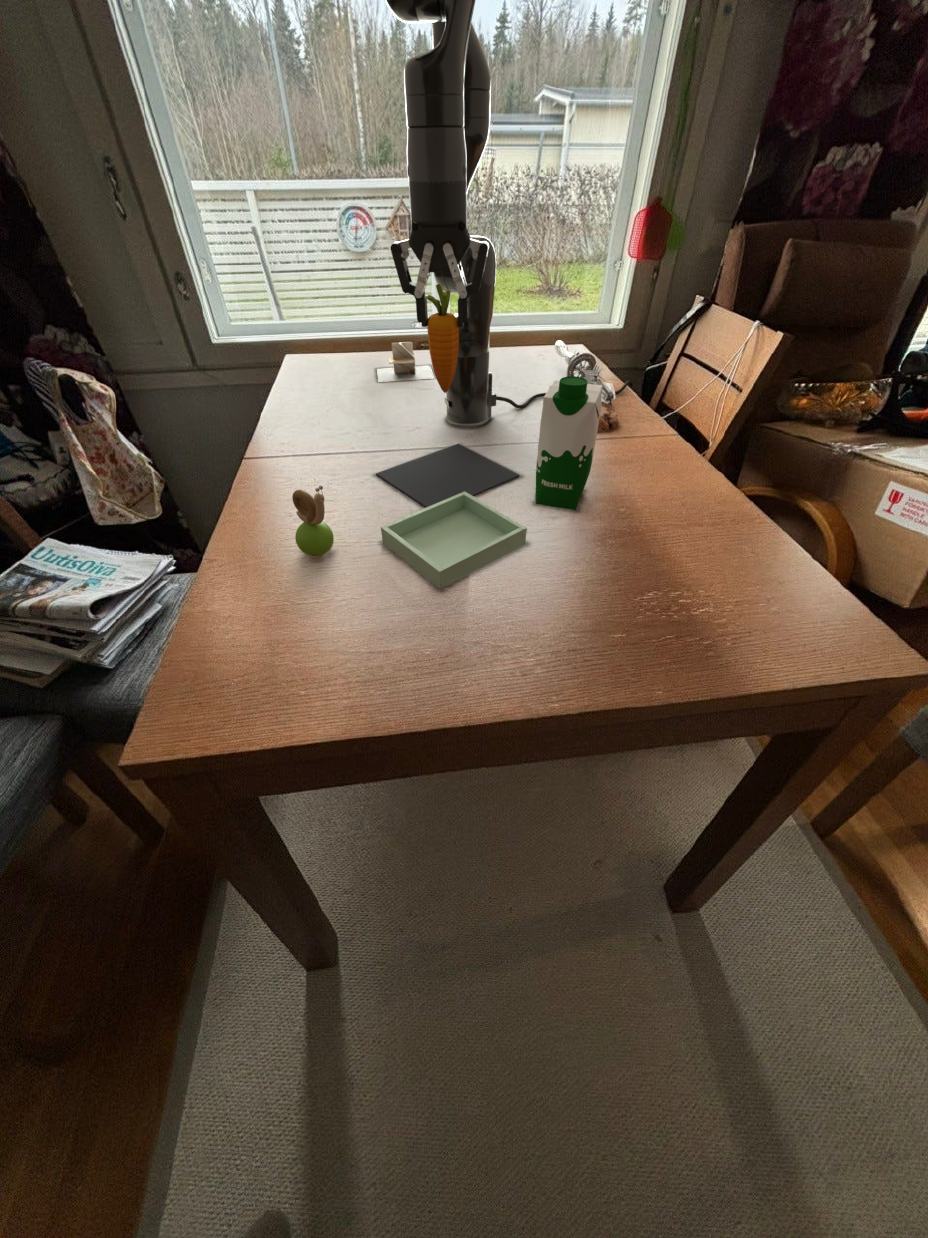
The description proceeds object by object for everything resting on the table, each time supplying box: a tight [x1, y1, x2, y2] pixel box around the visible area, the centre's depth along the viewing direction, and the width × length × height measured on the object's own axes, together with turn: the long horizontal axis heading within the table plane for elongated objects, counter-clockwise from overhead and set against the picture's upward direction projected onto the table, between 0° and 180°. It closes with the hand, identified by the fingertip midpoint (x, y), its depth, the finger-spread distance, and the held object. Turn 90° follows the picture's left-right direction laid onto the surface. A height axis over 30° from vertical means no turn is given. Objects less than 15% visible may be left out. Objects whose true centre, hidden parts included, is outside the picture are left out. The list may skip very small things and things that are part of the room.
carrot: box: [426, 283, 459, 394], centre depth 78 cm, size 5×5×15 cm
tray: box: [380, 492, 528, 590], centre depth 77 cm, size 17×15×3 cm
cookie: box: [598, 405, 619, 432], centre depth 110 cm, size 10×11×3 cm
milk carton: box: [535, 375, 602, 511], centre depth 81 cm, size 9×9×20 cm
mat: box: [375, 443, 520, 508], centre depth 94 cm, size 20×18×1 cm
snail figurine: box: [291, 485, 335, 557], centre depth 72 cm, size 5×6×12 cm
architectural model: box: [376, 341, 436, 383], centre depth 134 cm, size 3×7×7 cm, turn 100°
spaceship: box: [554, 339, 617, 406], centre depth 126 cm, size 8×35×8 cm
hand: (442, 325), depth 76 cm, fingers closed on carrot, 5 cm apart
